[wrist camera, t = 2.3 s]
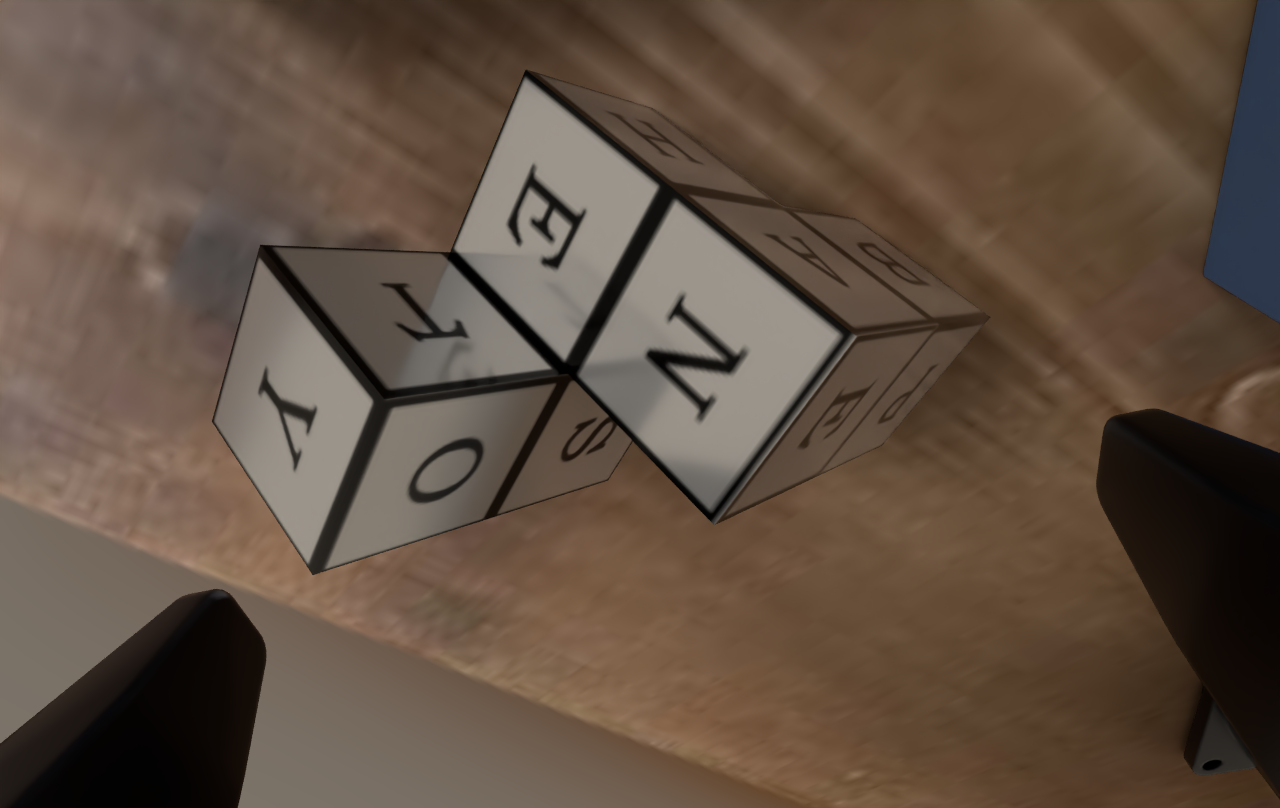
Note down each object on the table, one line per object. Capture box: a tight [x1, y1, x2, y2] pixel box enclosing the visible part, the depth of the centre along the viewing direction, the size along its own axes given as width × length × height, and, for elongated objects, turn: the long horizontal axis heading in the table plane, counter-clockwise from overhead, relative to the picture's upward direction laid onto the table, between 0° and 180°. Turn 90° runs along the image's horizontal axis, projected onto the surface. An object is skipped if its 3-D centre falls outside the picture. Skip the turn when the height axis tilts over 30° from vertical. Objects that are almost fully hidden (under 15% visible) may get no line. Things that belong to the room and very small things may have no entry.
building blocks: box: [212, 70, 990, 575], centre depth 11 cm, size 5×5×8 cm
